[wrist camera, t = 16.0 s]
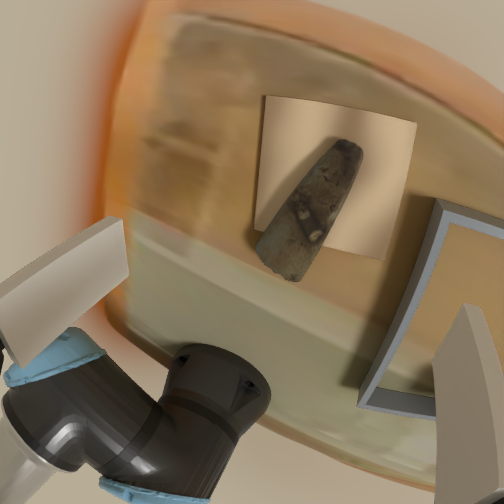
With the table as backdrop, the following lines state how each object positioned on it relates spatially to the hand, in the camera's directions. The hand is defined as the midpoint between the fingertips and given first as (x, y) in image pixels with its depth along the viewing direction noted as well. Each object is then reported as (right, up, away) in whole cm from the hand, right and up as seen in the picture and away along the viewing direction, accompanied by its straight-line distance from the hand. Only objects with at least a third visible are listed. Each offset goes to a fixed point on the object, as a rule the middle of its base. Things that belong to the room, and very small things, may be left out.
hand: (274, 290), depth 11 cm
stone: (+9, +5, +13) cm, 16 cm away
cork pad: (+6, +7, +14) cm, 17 cm away
